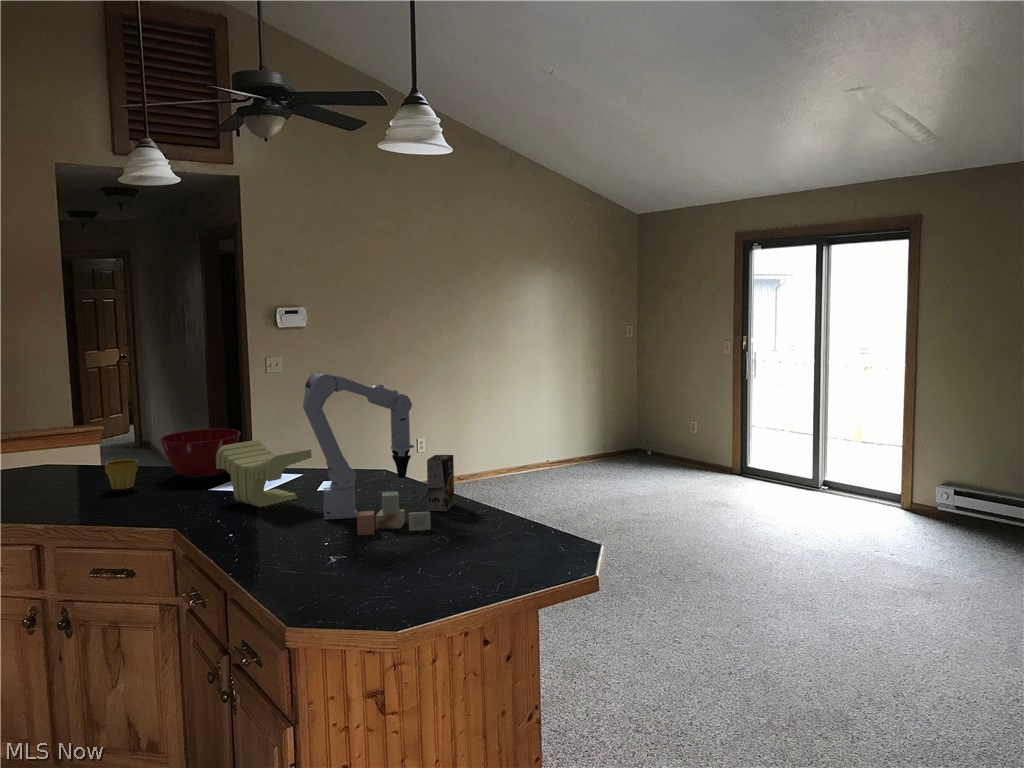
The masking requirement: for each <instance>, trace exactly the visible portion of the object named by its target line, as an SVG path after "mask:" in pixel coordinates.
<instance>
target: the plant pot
mask: <svg viewBox="0 0 1024 768" xmlns="http://www.w3.org/2000/svg"><path fill="white" fill-rule="evenodd" d="M104 469H105V470H104V472H105V474H107V477H108V479H109V483H110V486H111V490H112V489H126V488H130V487H133V486H134V487H135V481H136V475H137V472H138V470H139V462H138V460H137V459H117V460H111V461H107V462H105V463H104Z"/></svg>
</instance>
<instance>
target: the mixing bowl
mask: <svg viewBox="0 0 1024 768" xmlns="http://www.w3.org/2000/svg"><path fill="white" fill-rule="evenodd" d="M240 435H241V431H239V430H237V429H231V428H205V429H203V428H202V429H193V430H185V431H179V432H175V433H170V434H166V435H163V436H161V437H160V438H159V441H160V443H161V445H162V447H163V451H164V454H165V457H166V458H167V459H168V461H169V463H170V465H171V466H172V468H173V469H174V470H175V472H176V473H177V474H179V475H180V476H182V475H183V476H182V477H184V476H190V477H191V476H192V477H193V476H207V475H216V474H220V473H222V474H223V473H225V472H227V471H226V469H221V468H220V469H216V454H217V451H218V450H219V448H220V447H222V446H224V445H228V444H235V443H239V440H240Z"/></svg>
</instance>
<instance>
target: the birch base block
mask: <svg viewBox="0 0 1024 768" xmlns="http://www.w3.org/2000/svg"><path fill="white" fill-rule="evenodd" d="M405 523H406V509H405V508H402V509H401V508H399V514H389V515H383V509H382V508H381V509H380V510H379V511H378V512H377V514H376V515H375V528H376V529H401V528H402V526H403V525H404V524H405Z"/></svg>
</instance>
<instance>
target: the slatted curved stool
mask: <svg viewBox="0 0 1024 768" xmlns="http://www.w3.org/2000/svg"><path fill="white" fill-rule="evenodd" d="M308 459H312V449H305V450H300V451H293V452H290V453H285V454H279V455H276V454H275V453H273V452H272V451H270V450H269V449H268V448H267V447H266V446H265V445H264V444H262V442H261V441H260V439H253V440H249V441H242V442H238V443H235V444H228V445H224V446H222V447H220V448H219V450H218V451H217V454H216V469H220V468H221V469H226V471H225V472H227V474H229V475H230V481H231V484H232V491H233V496H234V497H233V498H234V499H235V500H236V501H237V502H239V501H240V503H243V502H244V503H243V504H247V505H250V504H251V506H254V507H257V506H258V507H257V508H261V507H262V506H266V505H270V504H274V503H279V502H283V501H287V500H292V499H298V497H297V494H296V493H294V492H290V491H286V490H283V489H279V488H274V489H269V490H268V489H267V490H265V485H266V482H267V481H268V482H273V481H278V480H282V476H283V473H284V470H286V469H287V468H288V467H289V466H291V465H294V464H297V463H300V462H302V461H306V460H308Z"/></svg>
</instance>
